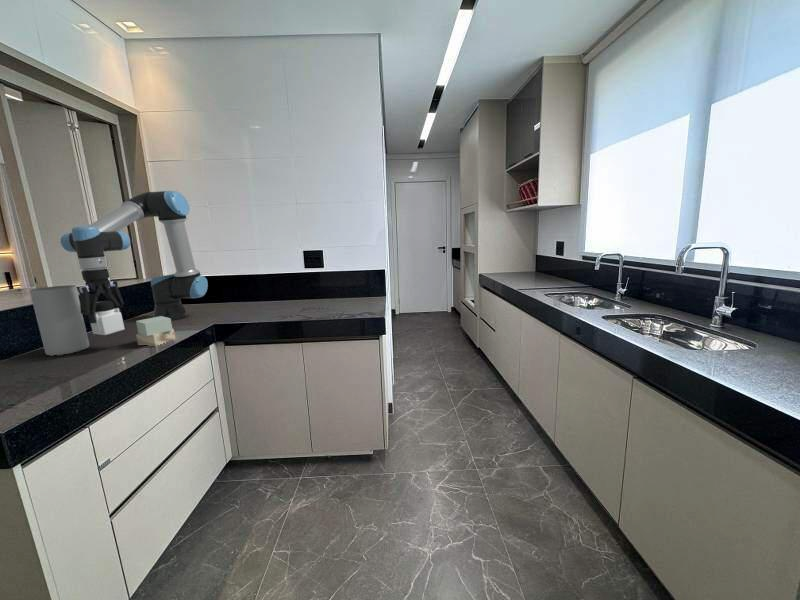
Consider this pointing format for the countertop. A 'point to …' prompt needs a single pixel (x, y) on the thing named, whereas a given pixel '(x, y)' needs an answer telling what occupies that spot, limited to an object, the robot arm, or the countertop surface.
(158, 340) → the lower block
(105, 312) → the medicine bottle
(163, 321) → the upper block
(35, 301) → the cylinder vase
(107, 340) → the countertop surface
